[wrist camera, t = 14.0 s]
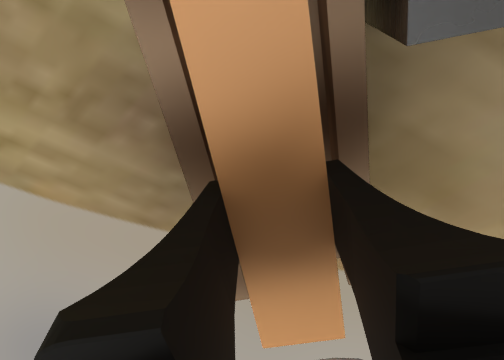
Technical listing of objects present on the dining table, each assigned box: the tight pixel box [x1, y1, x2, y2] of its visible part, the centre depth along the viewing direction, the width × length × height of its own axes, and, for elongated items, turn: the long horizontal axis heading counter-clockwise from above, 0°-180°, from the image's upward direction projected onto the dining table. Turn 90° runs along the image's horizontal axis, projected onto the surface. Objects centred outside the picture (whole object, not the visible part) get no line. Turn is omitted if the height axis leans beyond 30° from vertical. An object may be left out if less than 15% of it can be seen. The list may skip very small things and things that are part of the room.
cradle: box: [124, 0, 370, 301], centre depth 15 cm, size 20×8×3 cm, turn 11°
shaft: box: [170, 0, 345, 348], centre depth 12 cm, size 16×3×3 cm, turn 11°
